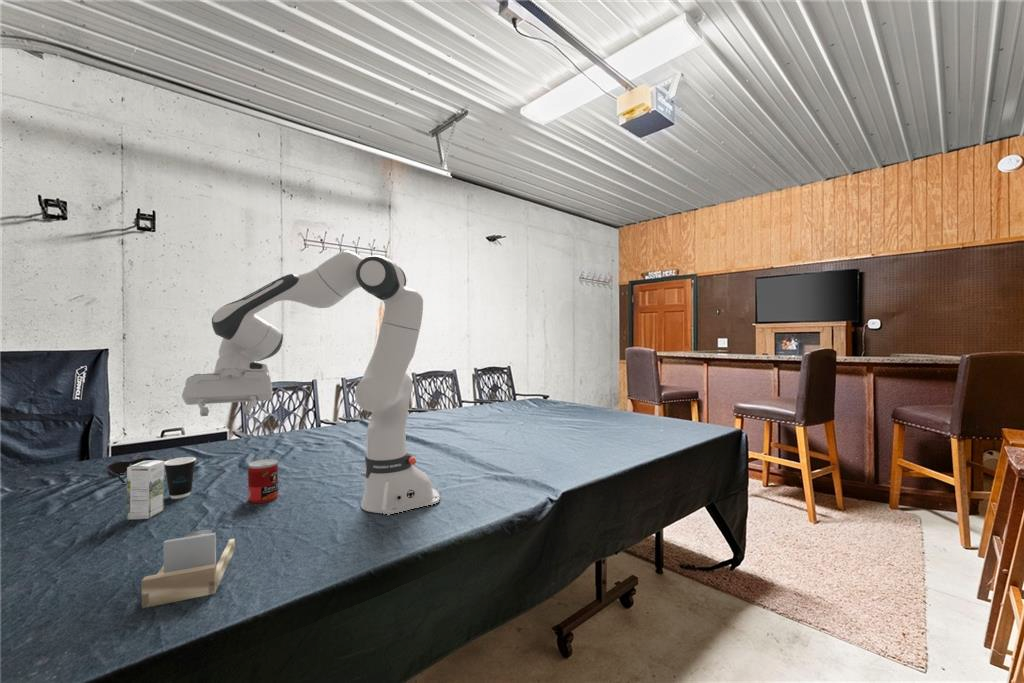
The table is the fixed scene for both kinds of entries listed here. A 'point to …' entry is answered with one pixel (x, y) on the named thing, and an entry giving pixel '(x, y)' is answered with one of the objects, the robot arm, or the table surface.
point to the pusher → (189, 552)
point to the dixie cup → (180, 476)
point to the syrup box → (145, 489)
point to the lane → (185, 581)
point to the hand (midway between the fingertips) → (225, 413)
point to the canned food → (262, 480)
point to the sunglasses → (123, 467)
